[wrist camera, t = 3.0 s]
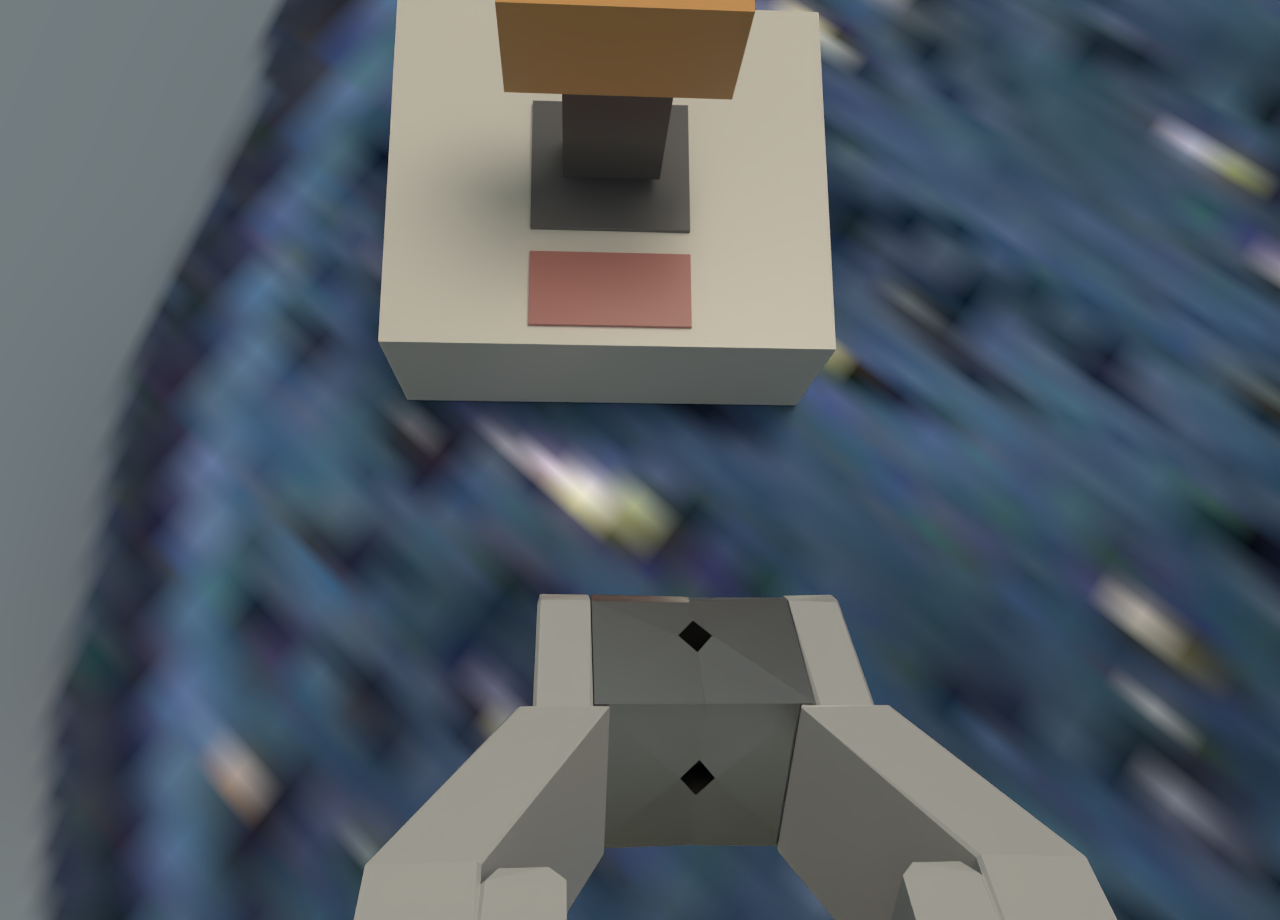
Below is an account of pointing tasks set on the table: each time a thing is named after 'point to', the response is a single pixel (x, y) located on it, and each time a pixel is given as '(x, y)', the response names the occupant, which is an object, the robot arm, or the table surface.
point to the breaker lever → (621, 70)
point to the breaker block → (603, 233)
